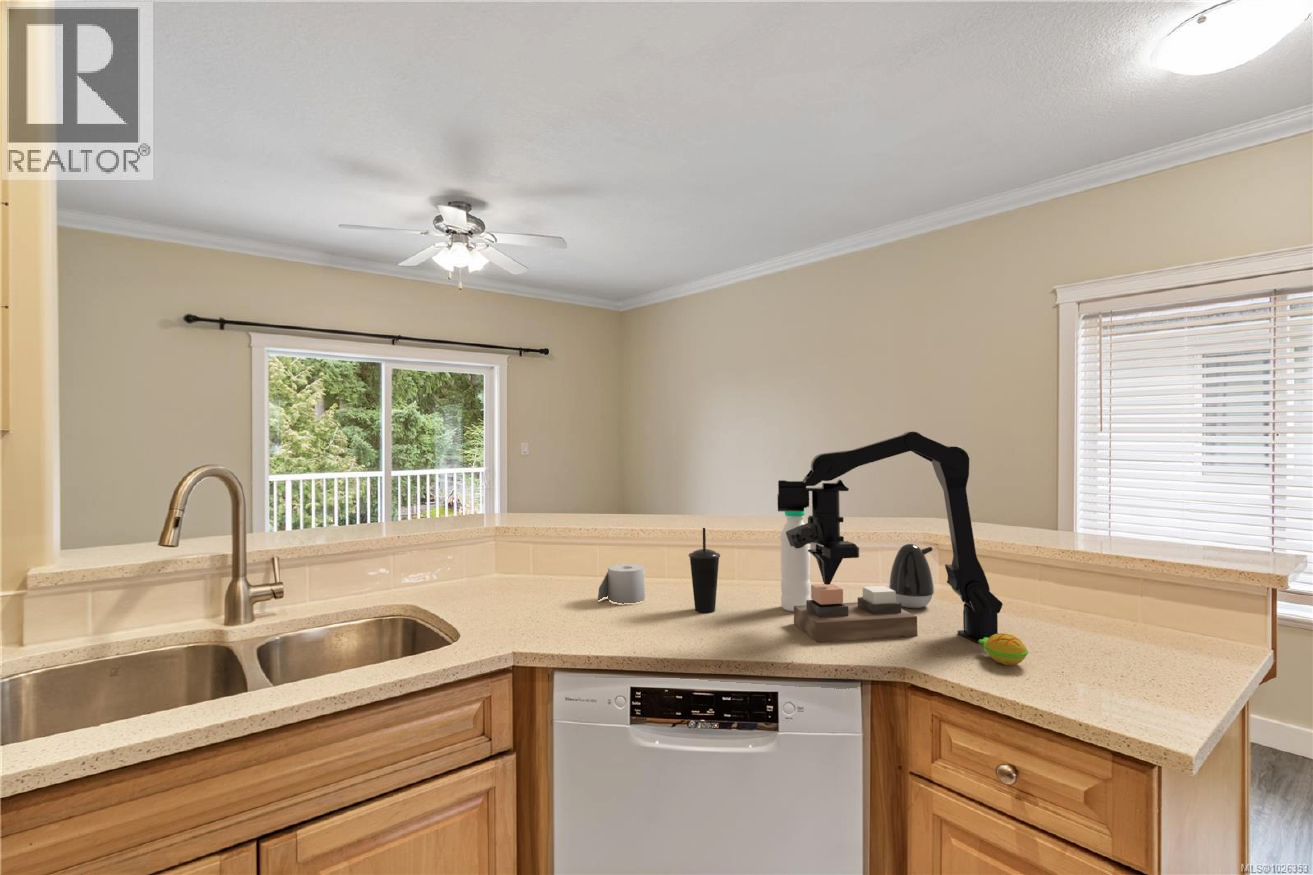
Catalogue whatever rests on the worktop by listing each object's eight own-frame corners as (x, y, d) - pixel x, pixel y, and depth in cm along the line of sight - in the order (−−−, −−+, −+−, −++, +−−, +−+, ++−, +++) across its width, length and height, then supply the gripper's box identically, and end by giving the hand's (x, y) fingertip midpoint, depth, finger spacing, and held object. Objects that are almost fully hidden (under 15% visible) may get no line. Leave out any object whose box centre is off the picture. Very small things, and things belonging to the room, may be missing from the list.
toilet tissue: (589, 603, 159) (589, 570, 159) (629, 594, 168) (629, 562, 168) (611, 610, 153) (611, 575, 153) (651, 600, 162) (651, 567, 162)
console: (917, 635, 131) (916, 606, 131) (817, 642, 127) (817, 612, 127) (885, 618, 143) (884, 591, 143) (793, 623, 140) (793, 596, 140)
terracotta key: (843, 603, 132) (842, 589, 132) (820, 604, 132) (820, 590, 132) (832, 597, 137) (832, 583, 137) (811, 598, 136) (811, 584, 136)
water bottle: (811, 613, 148) (810, 507, 148) (781, 612, 149) (779, 507, 149) (810, 605, 155) (808, 504, 155) (781, 604, 156) (779, 504, 156)
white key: (895, 605, 134) (895, 591, 134) (873, 606, 133) (873, 592, 133) (883, 599, 139) (883, 585, 139) (862, 600, 138) (862, 586, 138)
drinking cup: (720, 606, 155) (719, 525, 155) (720, 615, 148) (719, 530, 148) (690, 605, 156) (689, 525, 156) (688, 614, 148) (687, 530, 148)
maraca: (995, 671, 111) (995, 641, 111) (972, 651, 121) (971, 624, 121) (1036, 672, 110) (1036, 641, 110) (1009, 652, 120) (1008, 624, 120)
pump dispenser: (942, 611, 148) (941, 547, 148) (898, 611, 149) (897, 547, 149) (924, 599, 159) (923, 540, 159) (883, 600, 159) (882, 540, 159)
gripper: (775, 508, 142) (776, 576, 142) (807, 518, 124) (808, 597, 124) (821, 506, 144) (822, 574, 144) (859, 516, 126) (861, 594, 126)
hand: (826, 584), depth 134 cm, fingers closed
